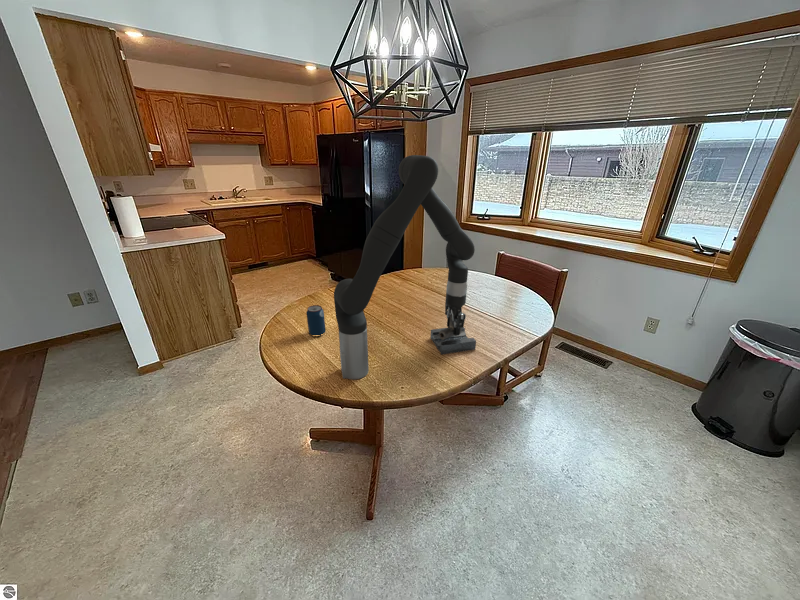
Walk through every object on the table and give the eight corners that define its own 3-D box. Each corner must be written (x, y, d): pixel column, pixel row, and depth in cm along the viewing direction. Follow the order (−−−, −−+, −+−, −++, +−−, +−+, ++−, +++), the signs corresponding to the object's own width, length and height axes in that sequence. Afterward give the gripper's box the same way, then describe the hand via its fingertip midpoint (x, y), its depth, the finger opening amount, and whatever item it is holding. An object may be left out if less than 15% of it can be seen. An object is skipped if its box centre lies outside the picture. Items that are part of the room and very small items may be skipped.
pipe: (435, 338, 125) (436, 320, 122) (455, 327, 133) (457, 310, 130) (448, 344, 121) (449, 325, 118) (468, 333, 129) (470, 315, 126)
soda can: (329, 332, 137) (326, 307, 132) (317, 339, 132) (314, 313, 127) (317, 328, 141) (314, 303, 136) (305, 334, 135) (302, 309, 130)
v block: (441, 354, 122) (442, 345, 121) (430, 338, 133) (430, 329, 132) (475, 349, 126) (476, 340, 124) (461, 334, 137) (462, 325, 135)
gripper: (440, 285, 126) (437, 323, 133) (454, 300, 113) (451, 341, 120) (457, 284, 128) (454, 321, 134) (474, 298, 115) (469, 339, 122)
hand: (452, 330), depth 127 cm, fingers closed on pipe, 6 cm apart
